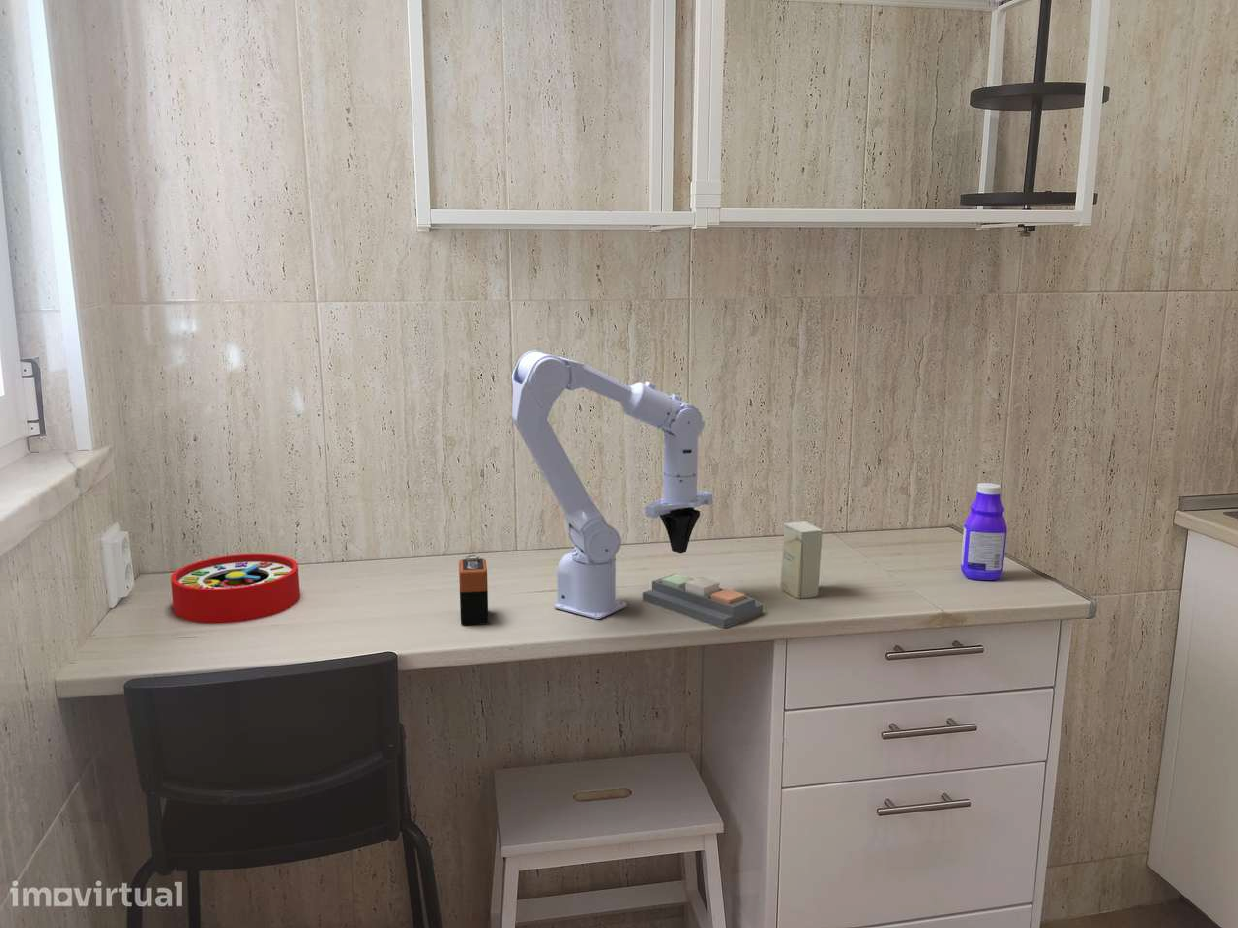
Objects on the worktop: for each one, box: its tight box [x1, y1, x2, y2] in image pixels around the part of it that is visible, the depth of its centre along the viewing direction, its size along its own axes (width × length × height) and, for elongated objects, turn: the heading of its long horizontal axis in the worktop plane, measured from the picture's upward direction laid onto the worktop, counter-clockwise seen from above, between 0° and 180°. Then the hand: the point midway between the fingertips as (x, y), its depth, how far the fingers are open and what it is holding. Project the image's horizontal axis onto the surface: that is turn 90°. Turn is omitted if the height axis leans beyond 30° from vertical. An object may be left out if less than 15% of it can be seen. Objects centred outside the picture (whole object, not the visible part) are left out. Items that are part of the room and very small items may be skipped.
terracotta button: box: [710, 588, 746, 605], centre depth 161 cm, size 4×4×2 cm
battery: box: [458, 554, 489, 626], centre depth 159 cm, size 4×7×10 cm, turn 10°
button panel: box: [642, 573, 764, 629], centre depth 165 cm, size 18×10×3 cm, turn 44°
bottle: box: [960, 482, 1008, 581], centre depth 180 cm, size 7×6×17 cm
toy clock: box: [170, 553, 301, 625], centre depth 167 cm, size 20×6×20 cm
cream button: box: [685, 576, 720, 596], centre depth 165 cm, size 4×4×2 cm
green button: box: [662, 573, 695, 588], centre depth 169 cm, size 4×4×2 cm
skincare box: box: [780, 520, 824, 600], centre depth 172 cm, size 6×4×12 cm
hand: (679, 551), depth 168 cm, fingers closed
